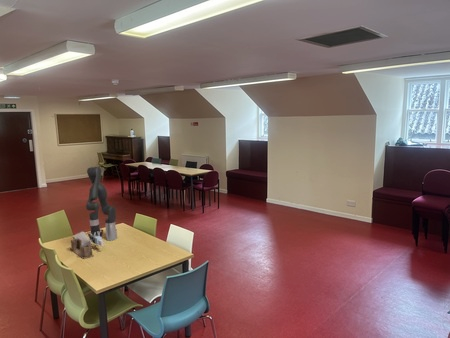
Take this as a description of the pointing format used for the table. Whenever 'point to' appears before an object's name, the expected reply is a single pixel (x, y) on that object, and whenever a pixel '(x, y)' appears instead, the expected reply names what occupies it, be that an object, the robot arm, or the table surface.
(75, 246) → the brown wooden block
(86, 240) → the decorative molding
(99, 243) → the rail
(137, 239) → the table surface
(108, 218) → the robot arm
